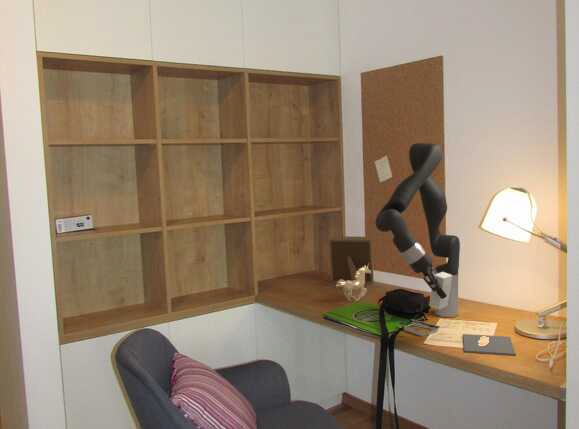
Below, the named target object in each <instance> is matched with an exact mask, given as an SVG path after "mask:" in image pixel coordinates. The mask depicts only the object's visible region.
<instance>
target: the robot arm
mask: <svg viewBox="0 0 579 429" xmlns="http://www.w3.org/2000/svg"><path fill="white" fill-rule="evenodd" d="M408 157H409V158H408V160H409V164H410V166H411V169H412V173H411V174H410V175H409V176H407V177H406V178H404V180H402V181H401V182H400V183H399V184H397V186H396V188H395V190H394V191H393V193H392V194H391V196H390V197H389V200H388V201H387V202H386V203H385V205H384V206H383V207H382V208H381V210H379V212H378V213H377V216H376V218H375V227H376V229H377V230H378V231H380V232H382V233H386V232H391V233H392V235H393V238H392V243H393V245H394V246H395V248H396V249H397V250H398V252H400V254H401V256H402V257H403V259H404V260H405V262H406V263H407V264H408V266H409V267H410V268H411V269H412V271H413V272H414V273H415V274H420V273H421V274H423V275H422V277H423V281H424V282H425V283H426V284H427V286H428V287H429V288H430V289H431V290H432V291H433V292H434V291H436V293H437V294H438V295H439V296H440V298H441V299H444V298H445V297H446V296H447V295H446V293H445V292H444V291H443V290H442V288H441V286H440V285H439V283H438V279H437V278H436V276H435V274H438V273H441V272H445V273H448V274H450V275H452V281H451V287H450V293H449V299H448V305H447V306H446V307H444V308H441V309H439V310H438V309H436V308H434V314H435V315H436V316H438V317H442V318H454V317H457V316H458V315H459V270H460V269H459V268H460V254H461V253H460V252H461V243H460V239H459V237H458V236H457V235H453V234H451V235H450V234H442V233H441V231H440V227H441V223H442V222H443V220H444V218H445V216H446V214H447V211H448V203H447V198H446V194H445V192H444V189H442V187H441V186H440V185H439V183H437V181H436V180H435V179H434V178H433V176H432V174H433V172H434V171H436V170H437V168H438V167H439V165H440V163H441V161H442V158H443V151H442V148H441V146H440V145H439V144H436V143H428V142H427V143H424V142H423V143H422V142H421V143H420V142H416V143H413V144H412V145H410V148H409V152H408ZM418 191H419V195H420V200H421V205H422V210H423V212H424V217H425V221H426V225H427V229H428V238H429V244H430V250H431V254H432V255H433V256H435V257H438V258H447V262H445V263H442V264H438V265H436V266H435V267H434V265H433V259H432V257H431V256H430V255H429V254H428V253H427V251H426V249H424V247H423V246H422V244H420V243H419V242H418V241H417V240H416V238H415V237H414V236H413V234H412V233H411V232H410V229H409V227H408V225H407V223H406V221H405V219H404V217H403V214H402V213H404V212H405V211H406V210H407V209H408V207H409V206H410V204H411V202H412V201H413V199H414V197H415V195H416V194H417V192H418ZM434 280H435V281H434ZM434 284H435V285H436V286H435V287H434V286H433V285H434Z"/></svg>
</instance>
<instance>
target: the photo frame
mask: <svg viewBox="0 0 579 429" xmlns="http://www.w3.org/2000/svg"><path fill="white" fill-rule="evenodd" d="M328 246H329V248H328V249H329V262H330V264H329V265H330V279H331V283H334V284H338V283H337V282H338V281H339V280H341V279H343V280H345V281H347V280H350V281H355V280H356V279H355V278H356V277H354V276H356V275H355V274H356V272H357V271H358V269H360V268H361V267H364V265H365V266H368V269H369V270H371V273H370V274H369V273H365V284H364V285H366V284H367V285H373V283H374V281H375V280H374V259H373V255H374V254H373V236H349V235H347V236H345V235H344V236H340V235H339V236H334V235H333V236H332V235H331V236H329V238H328ZM368 263H369V265H368Z"/></svg>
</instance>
